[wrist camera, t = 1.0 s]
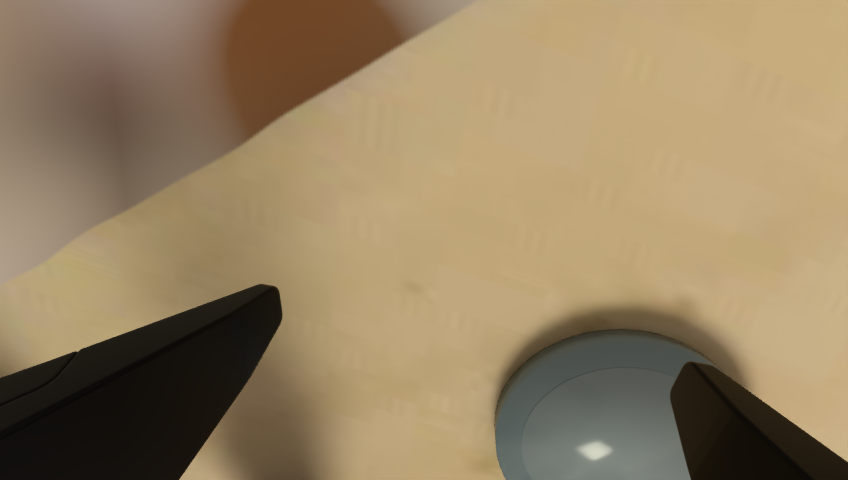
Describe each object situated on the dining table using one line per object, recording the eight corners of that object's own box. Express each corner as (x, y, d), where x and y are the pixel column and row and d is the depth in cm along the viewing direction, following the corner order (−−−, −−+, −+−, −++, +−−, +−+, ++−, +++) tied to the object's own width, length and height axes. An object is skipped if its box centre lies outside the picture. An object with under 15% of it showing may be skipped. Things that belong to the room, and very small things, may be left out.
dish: (619, 548, 28) (627, 572, 26) (451, 438, 27) (449, 457, 25) (799, 421, 23) (822, 442, 21) (601, 282, 22) (610, 293, 21)
